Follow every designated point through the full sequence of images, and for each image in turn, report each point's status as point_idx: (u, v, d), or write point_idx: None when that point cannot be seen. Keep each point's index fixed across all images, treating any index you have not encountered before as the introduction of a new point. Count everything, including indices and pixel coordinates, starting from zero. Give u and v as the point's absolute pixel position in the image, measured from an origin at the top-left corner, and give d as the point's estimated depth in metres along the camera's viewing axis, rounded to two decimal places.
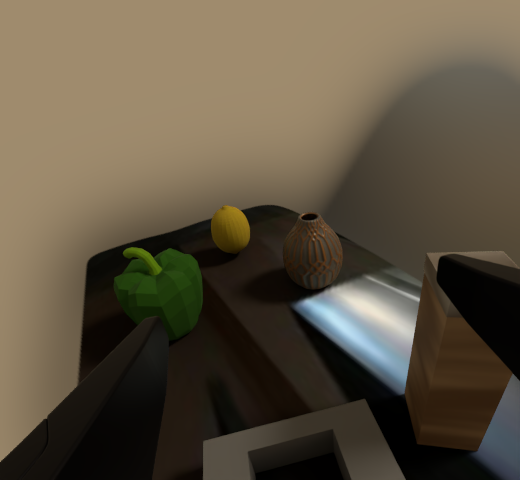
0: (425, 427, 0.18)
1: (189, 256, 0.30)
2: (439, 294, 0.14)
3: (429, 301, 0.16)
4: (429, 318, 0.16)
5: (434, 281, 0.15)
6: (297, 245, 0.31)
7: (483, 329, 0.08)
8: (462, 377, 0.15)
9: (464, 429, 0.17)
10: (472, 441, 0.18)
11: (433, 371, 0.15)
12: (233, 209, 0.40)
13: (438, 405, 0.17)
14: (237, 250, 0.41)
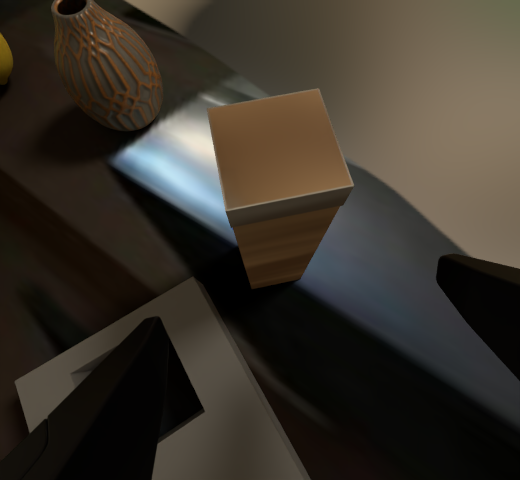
0: (253, 282, 0.18)
1: None
2: None
3: None
4: None
5: None
6: (72, 68, 0.19)
7: (483, 329, 0.08)
8: (273, 256, 0.13)
9: (286, 275, 0.18)
10: (295, 277, 0.19)
11: None
12: None
13: (258, 272, 0.16)
14: None
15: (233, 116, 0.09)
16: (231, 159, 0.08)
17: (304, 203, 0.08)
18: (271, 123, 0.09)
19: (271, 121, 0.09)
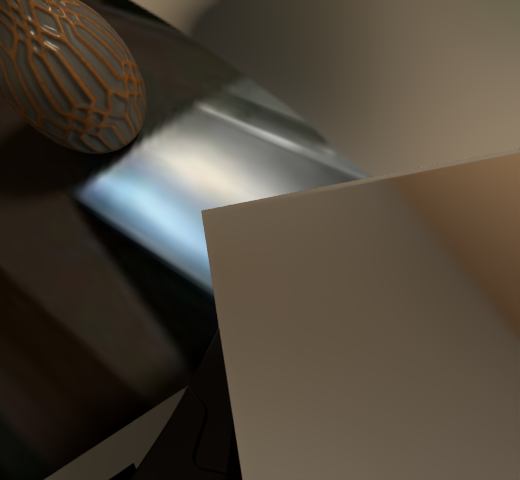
0: None
1: None
2: None
3: None
4: None
5: None
6: (7, 71, 0.13)
7: None
8: None
9: None
10: None
11: None
12: None
13: None
14: None
15: (283, 240, 0.03)
16: (288, 419, 0.02)
17: None
18: (404, 266, 0.03)
19: (404, 260, 0.03)
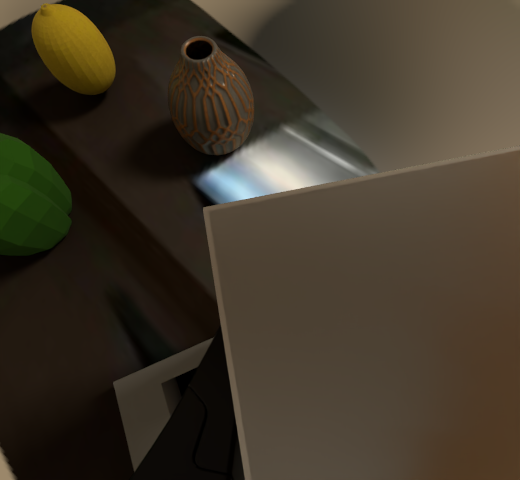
0: None
1: (8, 142, 0.18)
2: None
3: None
4: None
5: None
6: (187, 103, 0.20)
7: None
8: None
9: None
10: None
11: None
12: (64, 15, 0.22)
13: None
14: (101, 91, 0.27)
15: (284, 236, 0.03)
16: (290, 413, 0.02)
17: None
18: (405, 262, 0.03)
19: (406, 256, 0.03)
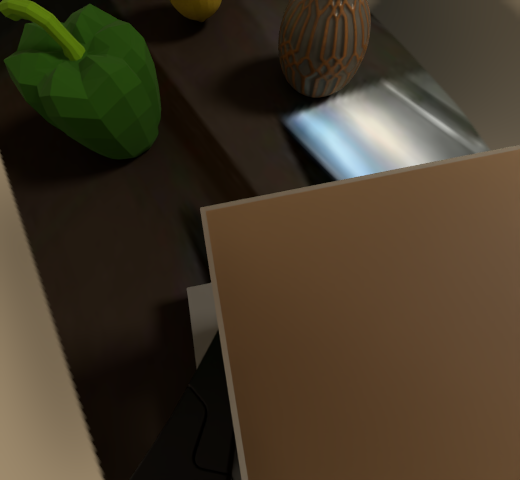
0: None
1: (128, 27, 0.18)
2: None
3: None
4: None
5: None
6: (308, 22, 0.19)
7: None
8: None
9: None
10: None
11: None
12: None
13: None
14: (204, 16, 0.26)
15: (282, 237, 0.03)
16: (285, 414, 0.02)
17: None
18: (404, 264, 0.03)
19: (404, 257, 0.03)
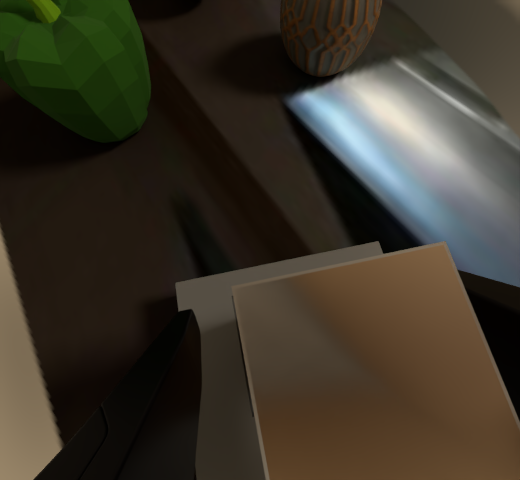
0: None
1: None
2: None
3: None
4: None
5: None
6: None
7: None
8: None
9: None
10: None
11: None
12: None
13: None
14: None
15: (284, 307, 0.04)
16: (287, 419, 0.04)
17: None
18: (360, 325, 0.04)
19: (361, 321, 0.04)
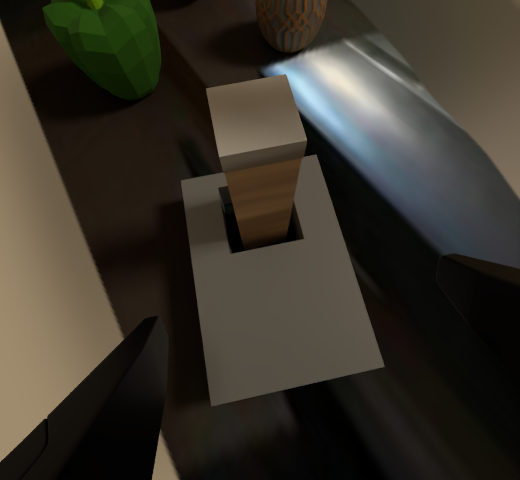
0: (245, 241, 0.22)
1: None
2: None
3: None
4: None
5: None
6: None
7: (483, 329, 0.08)
8: (258, 208, 0.17)
9: (272, 234, 0.22)
10: (280, 238, 0.23)
11: (234, 210, 0.17)
12: None
13: (248, 228, 0.19)
14: None
15: (225, 94, 0.12)
16: (223, 123, 0.12)
17: (274, 153, 0.12)
18: (251, 98, 0.12)
19: (251, 97, 0.12)
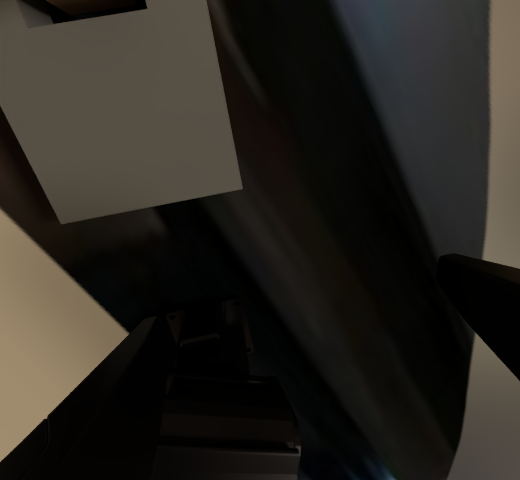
0: (55, 1, 0.13)
1: None
2: None
3: None
4: None
5: None
6: None
7: (483, 329, 0.08)
8: None
9: None
10: None
11: None
12: None
13: None
14: None
15: None
16: None
17: None
18: None
19: None
